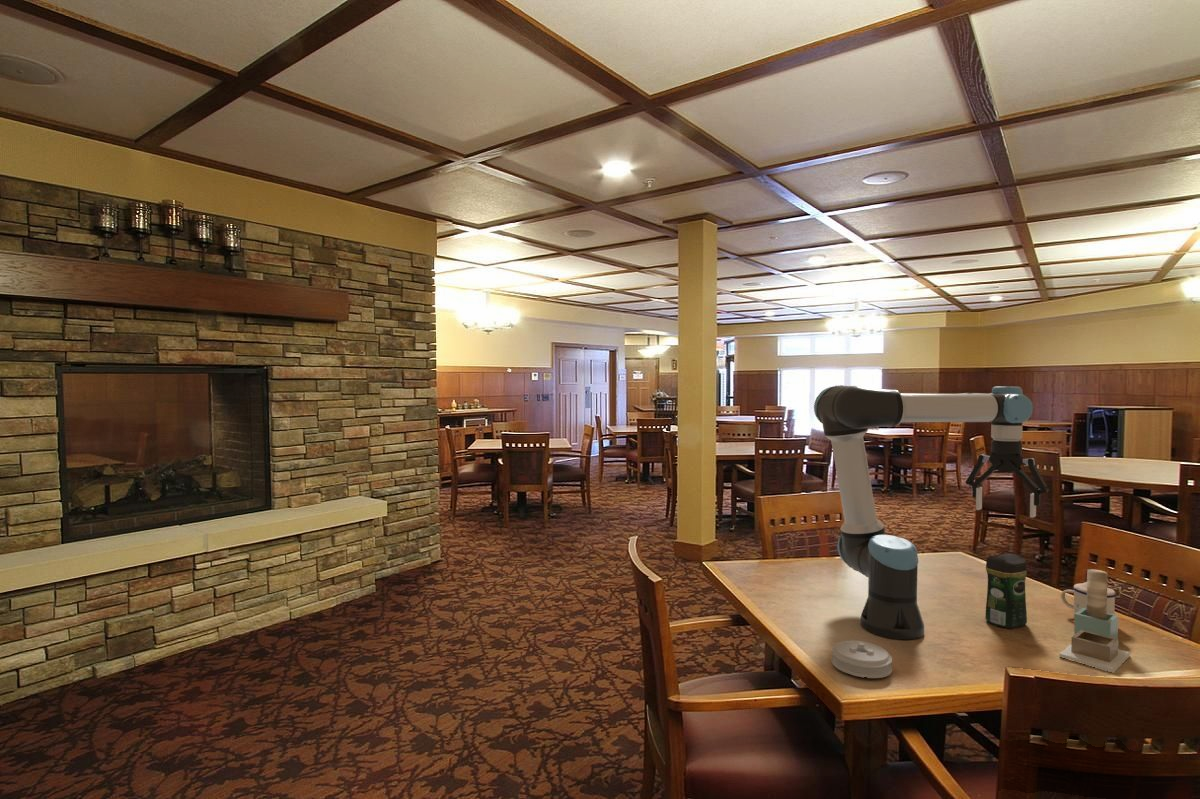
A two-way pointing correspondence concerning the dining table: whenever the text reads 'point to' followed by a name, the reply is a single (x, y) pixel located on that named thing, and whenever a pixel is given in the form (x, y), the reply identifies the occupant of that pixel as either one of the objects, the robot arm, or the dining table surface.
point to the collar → (1094, 645)
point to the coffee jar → (1006, 590)
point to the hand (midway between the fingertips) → (1005, 513)
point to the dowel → (1097, 594)
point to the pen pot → (1096, 624)
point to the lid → (861, 659)
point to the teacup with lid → (1081, 598)
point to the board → (1095, 662)
